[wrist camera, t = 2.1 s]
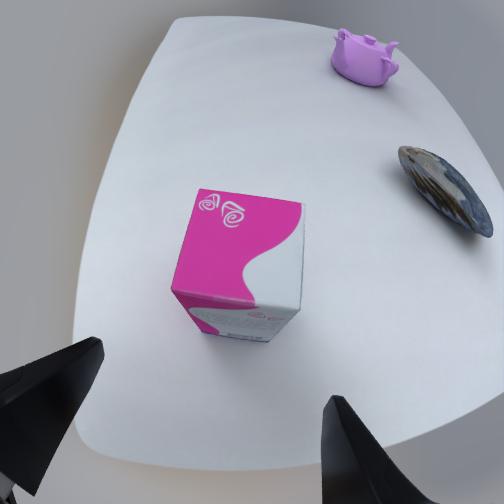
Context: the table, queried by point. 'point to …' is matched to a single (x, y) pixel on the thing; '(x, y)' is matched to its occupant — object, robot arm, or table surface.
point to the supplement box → (241, 264)
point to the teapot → (363, 59)
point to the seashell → (445, 189)
